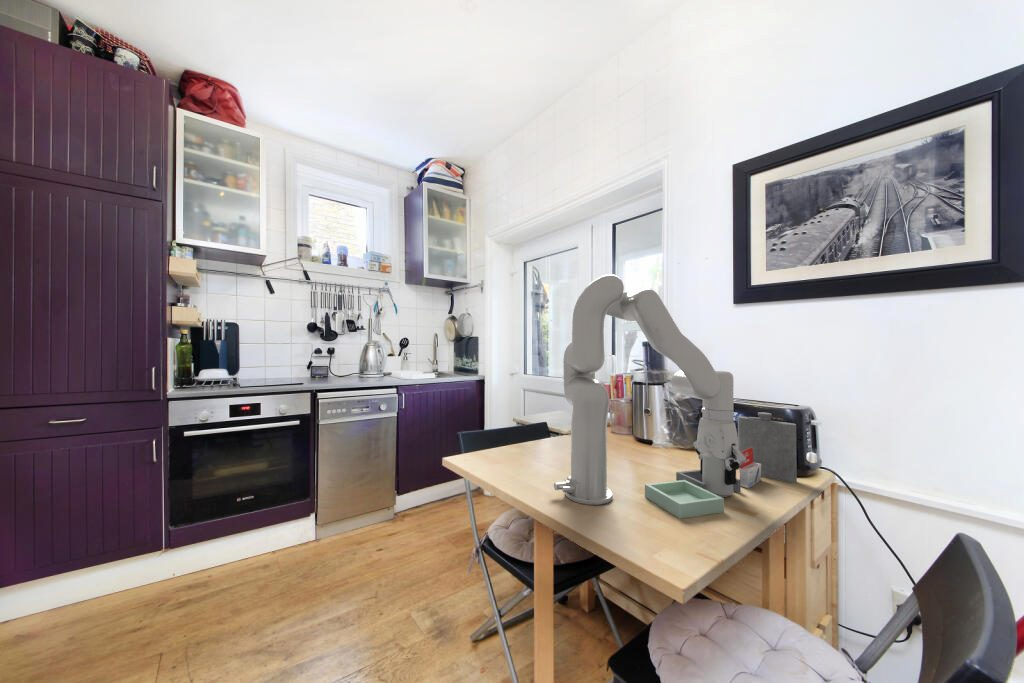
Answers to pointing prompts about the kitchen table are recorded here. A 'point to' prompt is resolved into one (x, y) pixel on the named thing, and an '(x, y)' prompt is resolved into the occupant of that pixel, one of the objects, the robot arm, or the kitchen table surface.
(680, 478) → the bay
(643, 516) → the kitchen table surface
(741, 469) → the ink cartridge box
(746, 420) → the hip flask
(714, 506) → the tray
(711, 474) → the can
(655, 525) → the kitchen table surface
